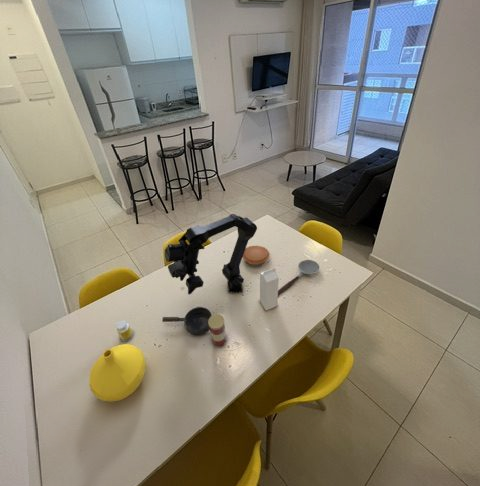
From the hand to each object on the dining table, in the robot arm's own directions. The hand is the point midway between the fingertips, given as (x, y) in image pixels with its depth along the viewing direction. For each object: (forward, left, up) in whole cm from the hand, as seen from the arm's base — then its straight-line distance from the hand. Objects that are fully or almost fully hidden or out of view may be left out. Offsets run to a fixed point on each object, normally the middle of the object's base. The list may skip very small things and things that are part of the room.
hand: (185, 287), depth 112 cm
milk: (-37, -3, -16) cm, 40 cm away
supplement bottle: (+25, +13, -16) cm, 33 cm away
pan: (-5, +8, -15) cm, 18 cm away
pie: (-32, -34, -16) cm, 49 cm away
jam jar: (-15, +15, -15) cm, 26 cm away
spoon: (-51, -17, -16) cm, 56 cm away
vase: (+19, +31, -16) cm, 40 cm away
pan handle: (+6, +8, -13) cm, 16 cm away
